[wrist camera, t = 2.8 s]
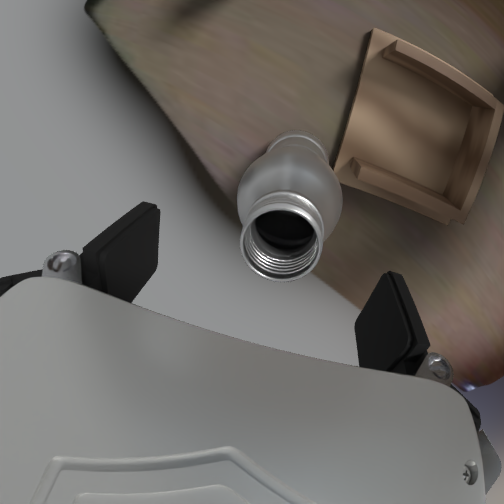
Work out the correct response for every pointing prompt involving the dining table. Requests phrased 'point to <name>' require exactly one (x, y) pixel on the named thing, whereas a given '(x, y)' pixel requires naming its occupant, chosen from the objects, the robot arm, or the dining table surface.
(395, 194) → the brown tray
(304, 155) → the silver bottle
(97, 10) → the dining table surface
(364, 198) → the dining table surface
